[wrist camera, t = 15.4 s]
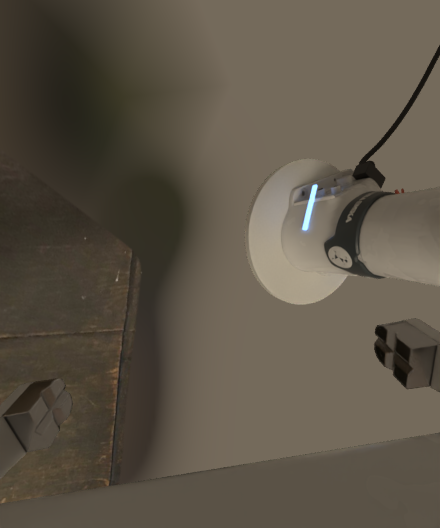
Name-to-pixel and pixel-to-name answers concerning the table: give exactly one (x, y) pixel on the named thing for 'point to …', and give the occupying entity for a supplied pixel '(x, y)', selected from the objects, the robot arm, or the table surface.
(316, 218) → the robot arm
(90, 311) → the table surface
